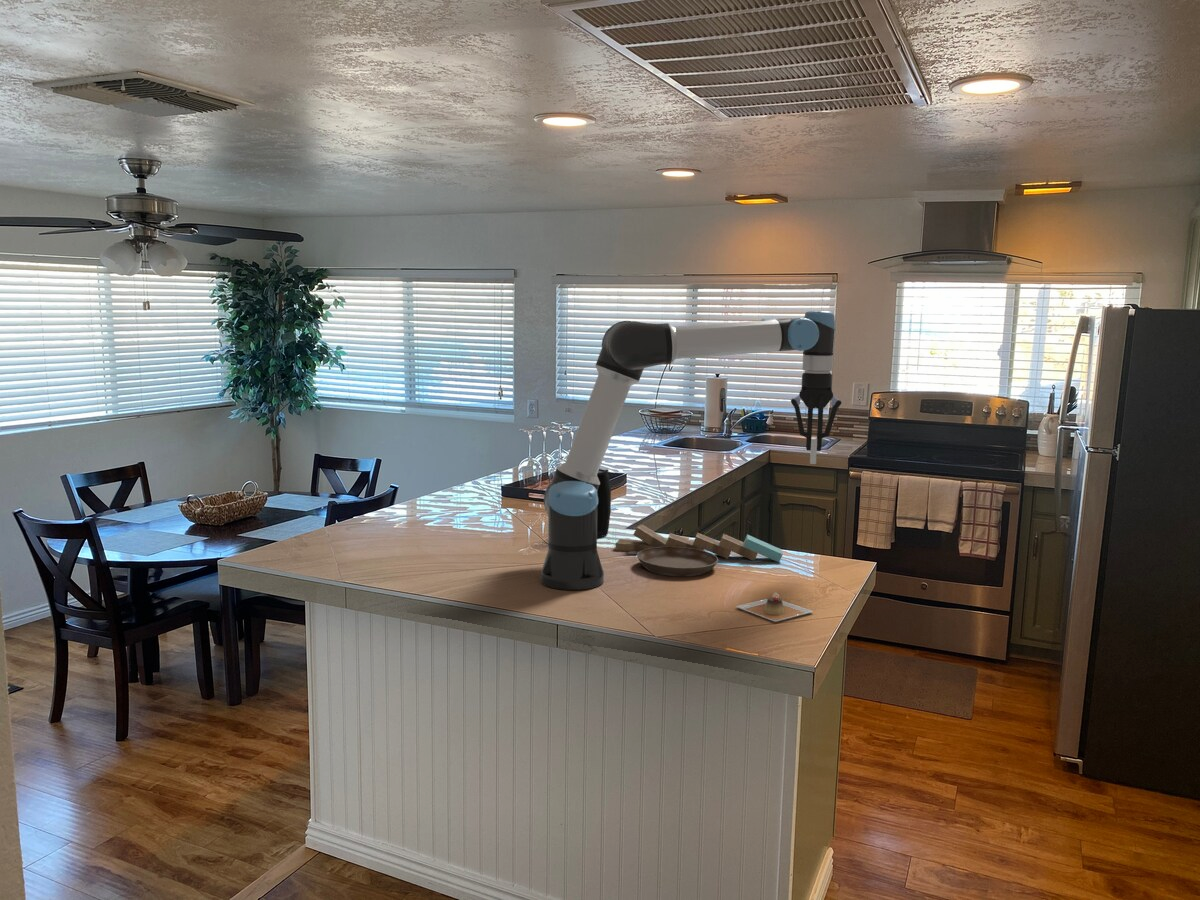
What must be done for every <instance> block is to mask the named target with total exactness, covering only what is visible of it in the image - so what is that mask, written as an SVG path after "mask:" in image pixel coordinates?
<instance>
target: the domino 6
mask: <svg viewBox="0 0 1200 900" xmlns="http://www.w3.org/2000/svg"><path fill="white" fill-rule="evenodd" d="M743 542H744V547H745V548H747V549H749V550H752V551H754V552H756V553H758V554H757V555H761V556H763V557H766V558H768V559H769V560H772V561H775V562H777V563H780V561H781V559H782V557H783V556H784V554H783V550H782V549H781V548H779V547H776V546H774V545H772V544H771V543H767V542H766V541H763V540H760V539H758V538H756V537H754V536H752V535H750V534H746V536H745V539H744V541H743Z"/></svg>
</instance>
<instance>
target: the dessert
mask: <svg viewBox="0 0 1200 900" xmlns="http://www.w3.org/2000/svg"><path fill="white" fill-rule="evenodd" d="M762 605H764V609H763V611H764V613H766V614H769V615H784V614H785V613H786V612H785V607H788V608H790V609H793V610H796V611H799V612H801V613H798V614H796V615H792V616H789V617H788V616H787V617H784V618H780V619H776V620H775V619H772V618H769V617H766V616H765V615H762V614H760V613H759V614H758V613H756V612H755V611H754V612H753V611H751V610H748V609H751V608H753V607H757V606H762ZM735 608H737V609H739V610H742V611H744V612H746V613H750V614H752V615H755V616H757V617H760V618H763V619H766V620H768V621H770V622H774V623H778V622H782V621H786V620H790V619H794V618H797V617H802V616H805V615H809V614H812V613H814V612H815V610H811V609H808V608H805V607H803V606H799V605H797V604H793V603H790V602H787V601H784V600H782V598H780V595H779V593H777V592H776V591H775V592H774V593H773V594H772V596H771V597H768V598H765V599H761V600H756V601H752V602H748V603H742V604H739V605H736V606H735Z"/></svg>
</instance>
